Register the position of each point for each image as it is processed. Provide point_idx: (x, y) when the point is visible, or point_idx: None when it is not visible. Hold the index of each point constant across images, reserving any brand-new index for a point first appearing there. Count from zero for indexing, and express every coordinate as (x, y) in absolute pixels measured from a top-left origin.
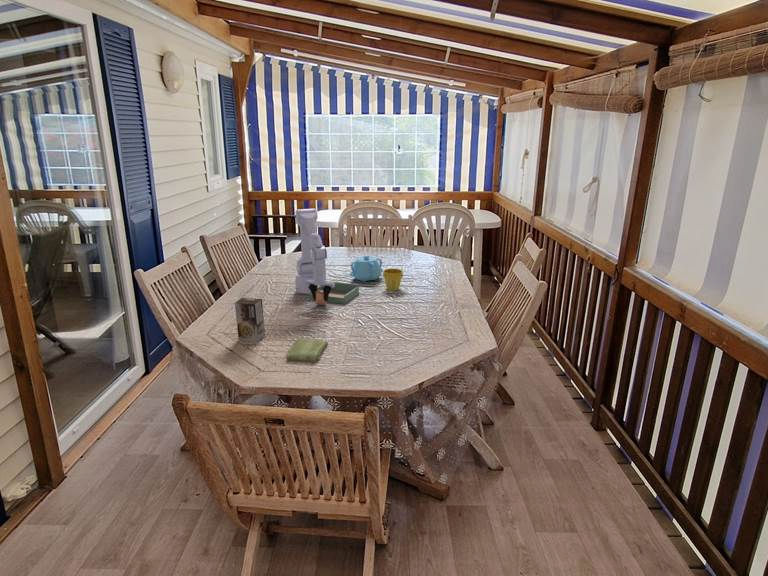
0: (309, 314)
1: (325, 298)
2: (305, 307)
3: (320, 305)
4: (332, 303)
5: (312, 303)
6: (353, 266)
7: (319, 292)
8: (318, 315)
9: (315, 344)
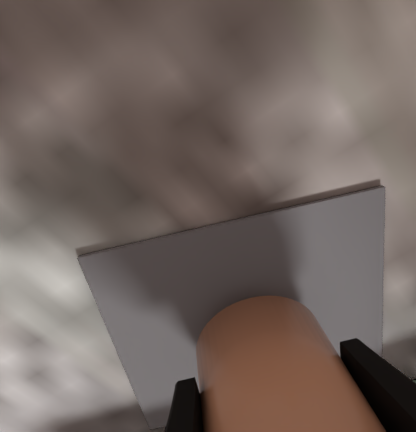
0: (180, 8)
1: (170, 422)
2: (377, 190)
3: None
4: None
5: (369, 320)
6: None
7: None
8: (36, 50)
9: None
